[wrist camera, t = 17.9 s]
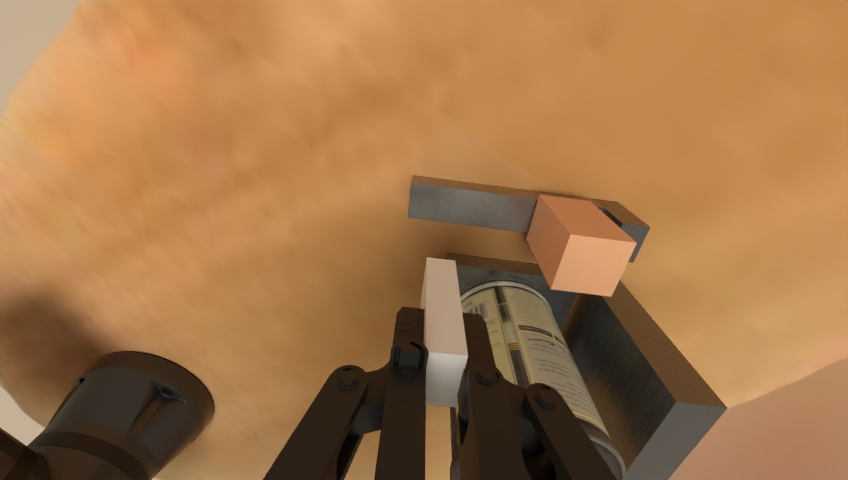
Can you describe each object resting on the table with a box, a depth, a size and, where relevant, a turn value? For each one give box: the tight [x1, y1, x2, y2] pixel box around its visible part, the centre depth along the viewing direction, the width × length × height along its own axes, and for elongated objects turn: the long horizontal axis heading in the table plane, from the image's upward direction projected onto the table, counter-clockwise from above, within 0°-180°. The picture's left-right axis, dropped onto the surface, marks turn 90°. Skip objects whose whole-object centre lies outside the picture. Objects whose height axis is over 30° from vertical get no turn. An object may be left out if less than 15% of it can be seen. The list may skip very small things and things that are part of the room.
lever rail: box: [408, 175, 650, 262], centre depth 27 cm, size 18×3×5 cm, turn 83°
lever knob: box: [526, 195, 637, 297], centre depth 24 cm, size 4×4×7 cm
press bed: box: [447, 253, 727, 480], centre depth 28 cm, size 16×12×14 cm
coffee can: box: [450, 281, 626, 480], centre depth 26 cm, size 10×10×14 cm
